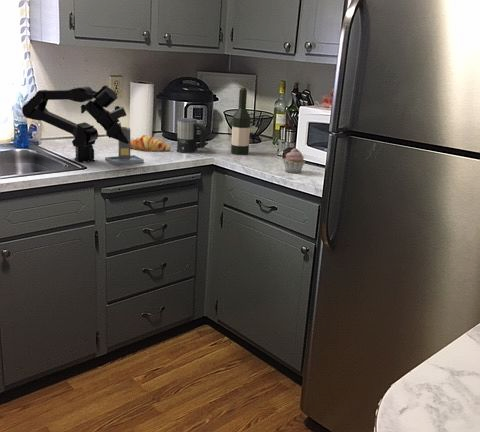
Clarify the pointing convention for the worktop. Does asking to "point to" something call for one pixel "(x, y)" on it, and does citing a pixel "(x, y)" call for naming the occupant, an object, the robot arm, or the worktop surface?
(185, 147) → the milk frother
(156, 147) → the croissant
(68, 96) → the robot arm
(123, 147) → the caddy
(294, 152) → the cupcake
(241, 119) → the wine bottle
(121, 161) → the tray
